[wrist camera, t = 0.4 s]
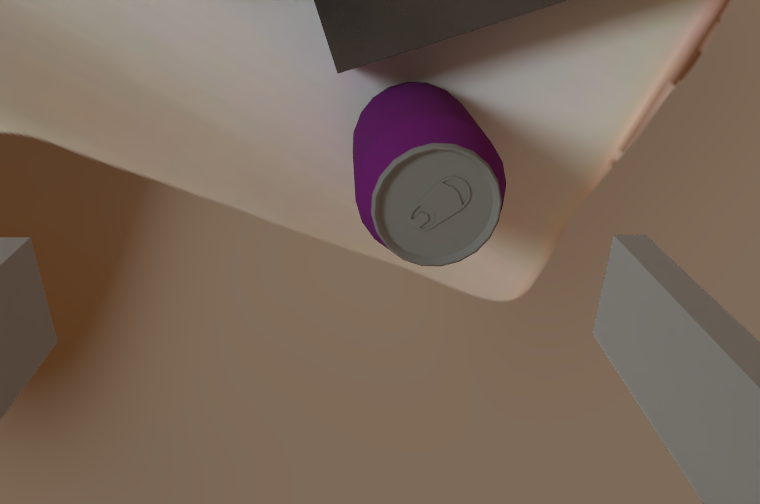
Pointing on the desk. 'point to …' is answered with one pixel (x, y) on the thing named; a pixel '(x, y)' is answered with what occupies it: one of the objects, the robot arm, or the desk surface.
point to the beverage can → (426, 175)
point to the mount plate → (406, 24)
